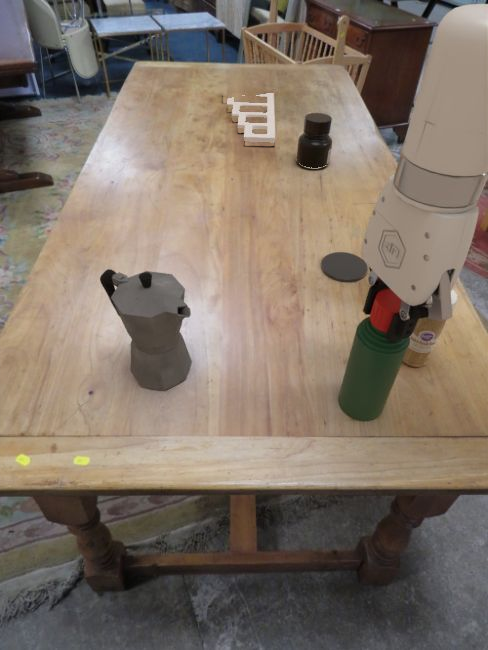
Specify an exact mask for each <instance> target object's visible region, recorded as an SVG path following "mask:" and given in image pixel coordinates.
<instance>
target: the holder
mask: <svg viewBox="0 0 488 650" xmlns="http://www.w3.org/2000/svg"><path fill="white" fill-rule="evenodd" d="M242 96H245V95H242ZM256 96H260V97H267V103H249V102H234V97H232V98H228V99H227V104H226V106H227V105H233V109H232V113H231V117H232V116H239V117H238V123H236V124H237V127H236V129H237V128H244V134H243V142H244V141H249V142H270V143H274V142H275V143H276V119H275V116H276V115H275V92H274V93H266V94H260V95H256ZM240 106H262V107H267V112H266V113H263V112H240V111H239V110H240ZM246 117H264V118H267V123H249V122H245V121H246ZM253 129H266V130H267V134H254V133H252V130H253Z"/></svg>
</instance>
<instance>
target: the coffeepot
mask: <svg viewBox="0 0 488 650" xmlns="http://www.w3.org/2000/svg"><path fill="white" fill-rule="evenodd" d="M99 281H100V284H101V286H102V287H103V289H104V291H105V293H106V295H107V297H108V299H109V301H110V303H111V305H112V307H113V308H114V311H115V312H116V314H117V316H118V317H119V318H120V320H121V322H122V324H123V326H124V328H125V330H126V332H127V334H128V336H129V337H130V338H131V341H130V373H131V374H132V375H133V377H134V379H135V380H136V382H137V383H138V385H139V386H140V387H141V388H144V389H148V390H153V391H166V390H170V389H172V388H174V387H176V386H178V385H180V384H182V382H183V381H185V380H187V377H188V374H189V372H190V369H191V365H192V363H193V360H192V359H191V355H190V352H189V349H188V347H187V344H186V341H185V339H184V336H183V335H182V333H181V332H180V331H181V329H182V326H183V320H185V319H186V318H190V317H191V315H192V314H191V308H190V307H189V305H188V304H187V303H186V301H185V294H186V293H185V292H186V288H185V287H184V286H183V285H182V284H181V283H180V282H179V280H178V279H177V278H176V277H175V276H174V275H173V273H167V272H157V271H149V270H145V271H143V272H140V273H137V274H135V275H134V274H133V275H131V276H129V277H128V275H127V274H124V273H123V272H120V271H119V272H116V271H115V270H113V269H110V268H109V269H106V270H104V271H103V273H101V275H100V278H99Z"/></svg>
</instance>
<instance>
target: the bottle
mask: <svg viewBox="0 0 488 650" xmlns="http://www.w3.org/2000/svg"><path fill="white" fill-rule="evenodd" d="M386 334H387V333H386V332H383V331H380V330H378V329H377V328H375V327H374V326H373V325H372V323H371V321H370V315H368V316H366V317H365V318H364V319H362V320H361V321H360V322H359V323H358V324H357V327H356V329H355V333H354V336H353V341H352V344H351V348H350V352H349V356H348V360H347V363H346V367H345V370H344V375H343V378H342V382H341V385H340V390H339V393H338V397H337V401H338V405H339V407H340V409H341V410H342V412H343V413H344V414H346V415H347V416H349V418H352V419H353V420H356V421H361V422H369V421H372V420H376V419H377V418H379V417H380V416H381V414H382V413H383V411H384V409H385V406H386V404H387V401H388V398H389V396H390V394H391V391H392V389H393V386H394V384H395V381H396V378H397V376H398V374H399V371H400V368H401V366H402V364H403V359H404V356H405V354H406V351H407V349H408V347H409V344H410V337H408V338H405V339H398V340H395V341H392V342H389V341H388V340H387V339H386Z"/></svg>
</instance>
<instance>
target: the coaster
mask: <svg viewBox="0 0 488 650" xmlns="http://www.w3.org/2000/svg"><path fill="white" fill-rule="evenodd" d="M320 268H321V271H322V273H324V275H326V276H327V277H329V278H330V279H332V280H335V281H337V282H342V283H354V282H358V281H361V280H362V279H364V278H365V277H366V276H367V273H368V270H369V266H368V265H367V264H366V262H365V261H364V260H363V258H362V257H360V256H358V255H356V254H354V253H350V252H347V251H336V252H331V253H328V254H327V255H325V256H324V257H323V258H322V260H321V262H320Z"/></svg>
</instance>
